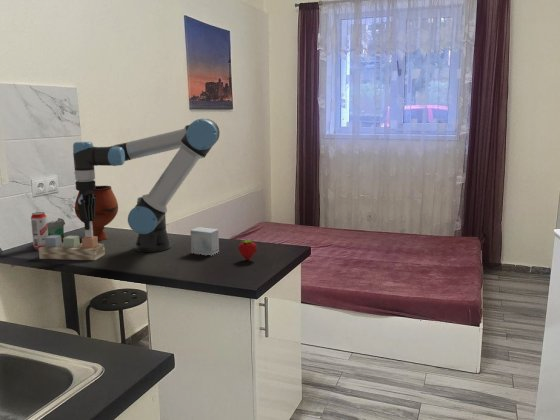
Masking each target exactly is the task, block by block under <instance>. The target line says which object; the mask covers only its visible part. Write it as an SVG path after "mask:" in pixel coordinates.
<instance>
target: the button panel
mask: <svg viewBox="0 0 560 420" xmlns="http://www.w3.org/2000/svg"><path fill="white" fill-rule="evenodd" d="M38 255H39V256H38V257H39V260H75V261H77V260H78V261H97V260H98V259H100V258H101V257H103V256H104V255H106V249H105V243H98V246H97V247H95V248H93V249H92V248H82V242H81V243H80V245H79V246H77V247H75V248H64V244H63V242H62V245H60V246H58V247H56V248H55V247H45V245H44V246H42V247H40V248H39V250H38Z"/></svg>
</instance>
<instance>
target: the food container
mask: <svg viewBox="0 0 560 420" xmlns="http://www.w3.org/2000/svg"><path fill="white" fill-rule="evenodd" d="M65 225H66V222H65V220H64V218H60V217H59V218H57V220H55V221H53V220H52V221H50V222H47V227H48V236H50V235H61V241H62V243H63V238H65V232H64V231H65V230H64V229H65Z"/></svg>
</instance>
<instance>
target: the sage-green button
mask: <svg viewBox="0 0 560 420" xmlns="http://www.w3.org/2000/svg"><path fill="white" fill-rule="evenodd" d="M80 241H81V240H80V235H68V236H67V235H66V236H64V238H63V242H62V243H63V244H64V248H75V247H77V246H79V245H80Z"/></svg>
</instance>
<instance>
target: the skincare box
mask: <svg viewBox="0 0 560 420" xmlns="http://www.w3.org/2000/svg"><path fill="white" fill-rule="evenodd" d="M219 238H220V237H219V229H218V228H210V227H208V228H207V227H201V226H197V227H195V228H193V229H190V249H191V250H190V252H191V254H193V253H194V254H195V255H200V254H201V255H203V256H207V255H211V256H210V257H213V256H215V255H217V254H219V253H220V245H219V244H220V243H219V242H220V240H219ZM218 252H219V253H218ZM216 253H217V254H216ZM214 254H215V255H214ZM212 255H213V256H212Z"/></svg>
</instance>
